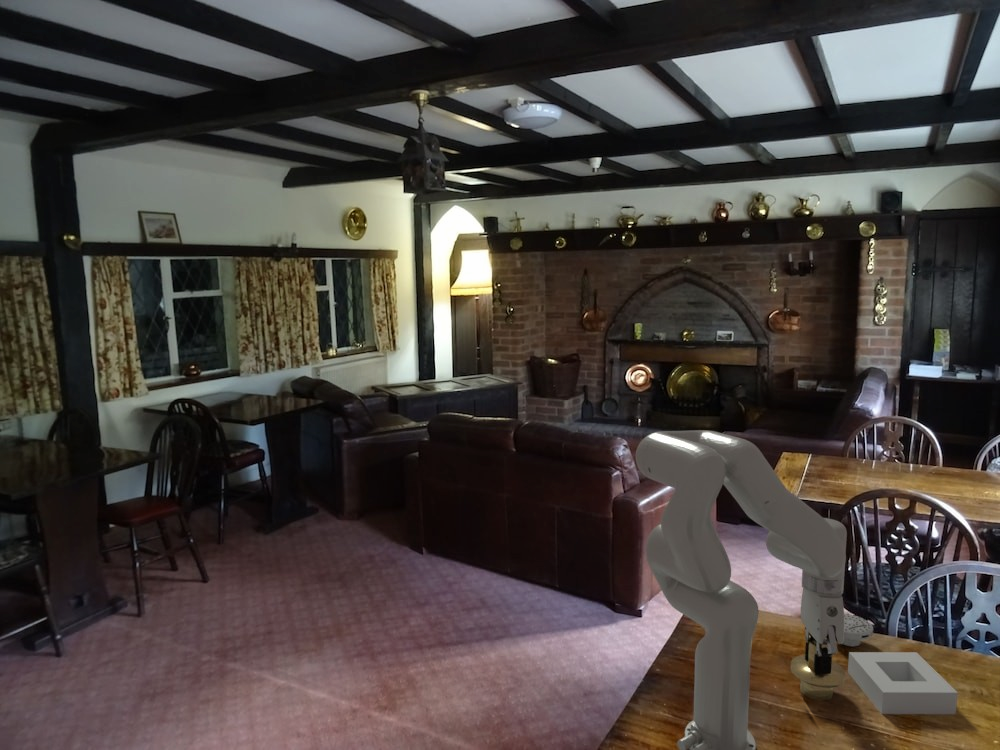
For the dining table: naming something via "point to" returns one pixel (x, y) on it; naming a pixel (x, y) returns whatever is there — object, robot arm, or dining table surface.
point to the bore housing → (902, 683)
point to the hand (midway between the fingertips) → (817, 665)
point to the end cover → (816, 675)
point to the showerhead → (856, 630)
